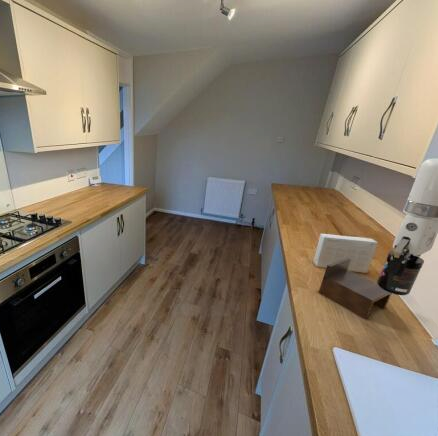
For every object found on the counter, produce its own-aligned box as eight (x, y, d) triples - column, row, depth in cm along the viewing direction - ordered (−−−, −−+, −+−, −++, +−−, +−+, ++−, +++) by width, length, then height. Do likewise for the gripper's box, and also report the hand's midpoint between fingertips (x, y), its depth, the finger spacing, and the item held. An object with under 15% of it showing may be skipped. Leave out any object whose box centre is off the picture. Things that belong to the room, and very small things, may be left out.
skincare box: (361, 267, 115) (372, 238, 109) (367, 273, 110) (379, 243, 105) (311, 261, 120) (320, 232, 115) (315, 266, 115) (324, 237, 110)
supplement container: (397, 283, 70) (410, 252, 66) (416, 298, 64) (432, 264, 60) (370, 280, 71) (382, 249, 68) (386, 294, 65) (400, 261, 62)
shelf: (385, 307, 89) (398, 278, 84) (365, 319, 83) (378, 288, 79) (338, 284, 103) (347, 257, 98) (318, 292, 97) (327, 265, 92)
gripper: (433, 219, 53) (403, 286, 59) (462, 209, 60) (432, 269, 66) (389, 210, 59) (366, 271, 65) (420, 201, 66) (396, 257, 72)
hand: (400, 270), depth 65 cm, fingers closed on supplement container, 6 cm apart
